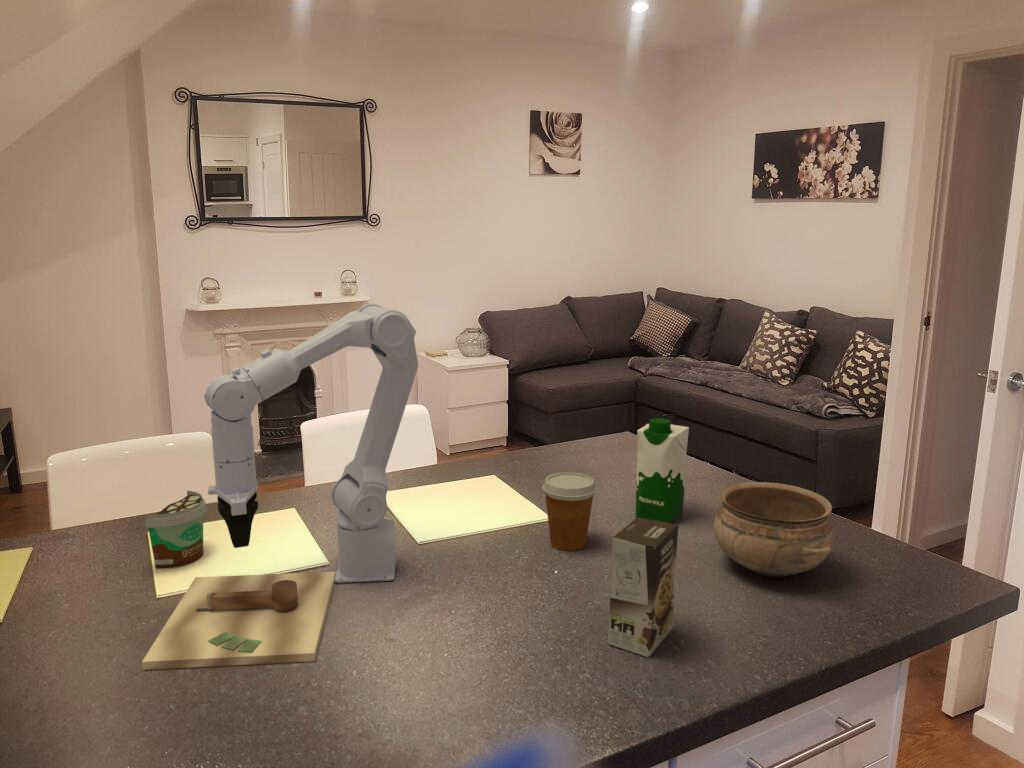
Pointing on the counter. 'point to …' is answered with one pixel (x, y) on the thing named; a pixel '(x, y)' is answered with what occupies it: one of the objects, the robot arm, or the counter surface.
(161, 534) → the food container
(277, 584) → the tuning peg
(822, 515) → the cooking pot
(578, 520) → the disposable coffee cup
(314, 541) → the counter surface
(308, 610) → the dial board
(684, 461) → the milk carton
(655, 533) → the coffee box
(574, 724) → the counter surface
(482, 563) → the counter surface
